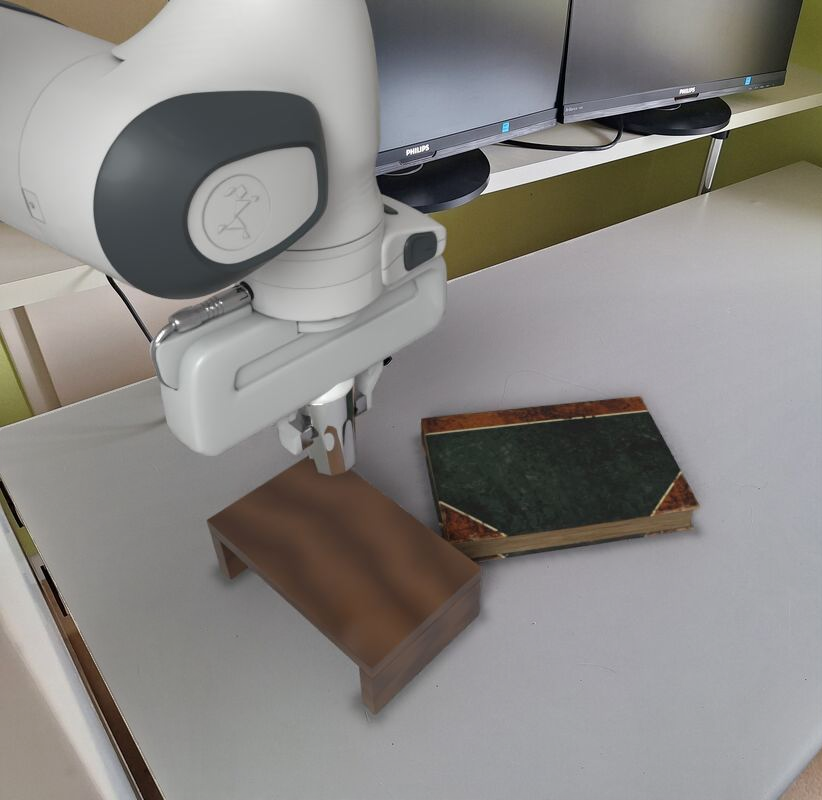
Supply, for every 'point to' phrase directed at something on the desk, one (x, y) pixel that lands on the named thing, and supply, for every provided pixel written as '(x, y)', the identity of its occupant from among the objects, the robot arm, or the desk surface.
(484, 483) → the book
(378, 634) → the riser shelf
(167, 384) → the robot arm
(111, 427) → the desk surface
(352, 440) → the milkshake
